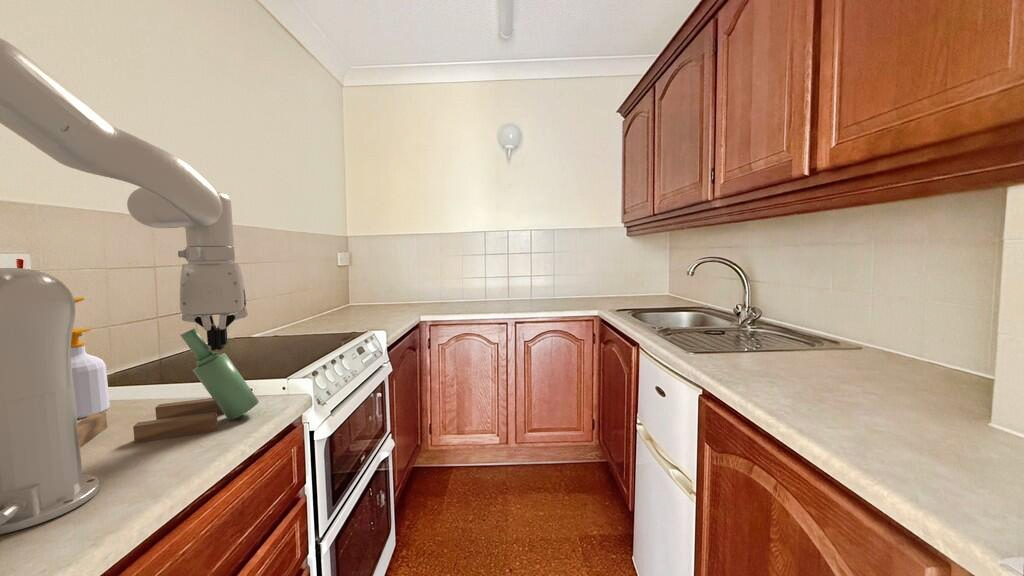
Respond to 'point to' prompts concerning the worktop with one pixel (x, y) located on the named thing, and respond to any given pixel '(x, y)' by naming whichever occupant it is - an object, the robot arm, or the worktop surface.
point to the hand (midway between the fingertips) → (218, 348)
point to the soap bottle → (88, 378)
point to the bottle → (220, 378)
